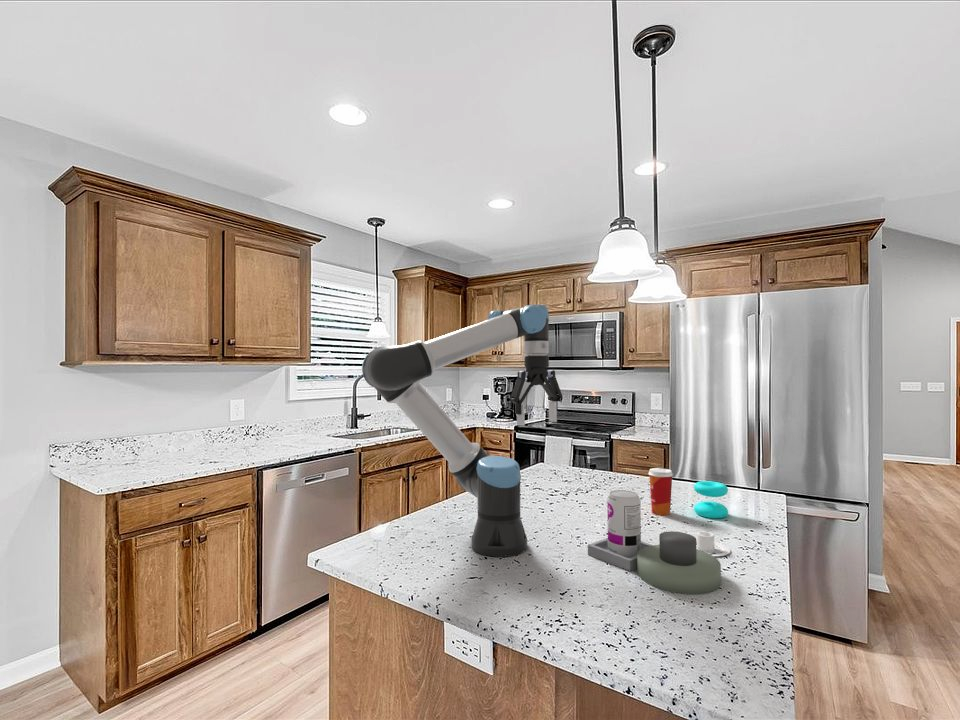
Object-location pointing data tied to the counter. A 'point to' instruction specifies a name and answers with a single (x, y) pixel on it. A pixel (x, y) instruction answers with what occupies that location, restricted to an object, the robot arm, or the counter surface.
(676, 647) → the counter surface
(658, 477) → the paper cup
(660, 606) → the counter surface
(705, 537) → the candle holder
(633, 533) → the supplement can
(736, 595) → the counter surface
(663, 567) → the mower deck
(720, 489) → the donuts
